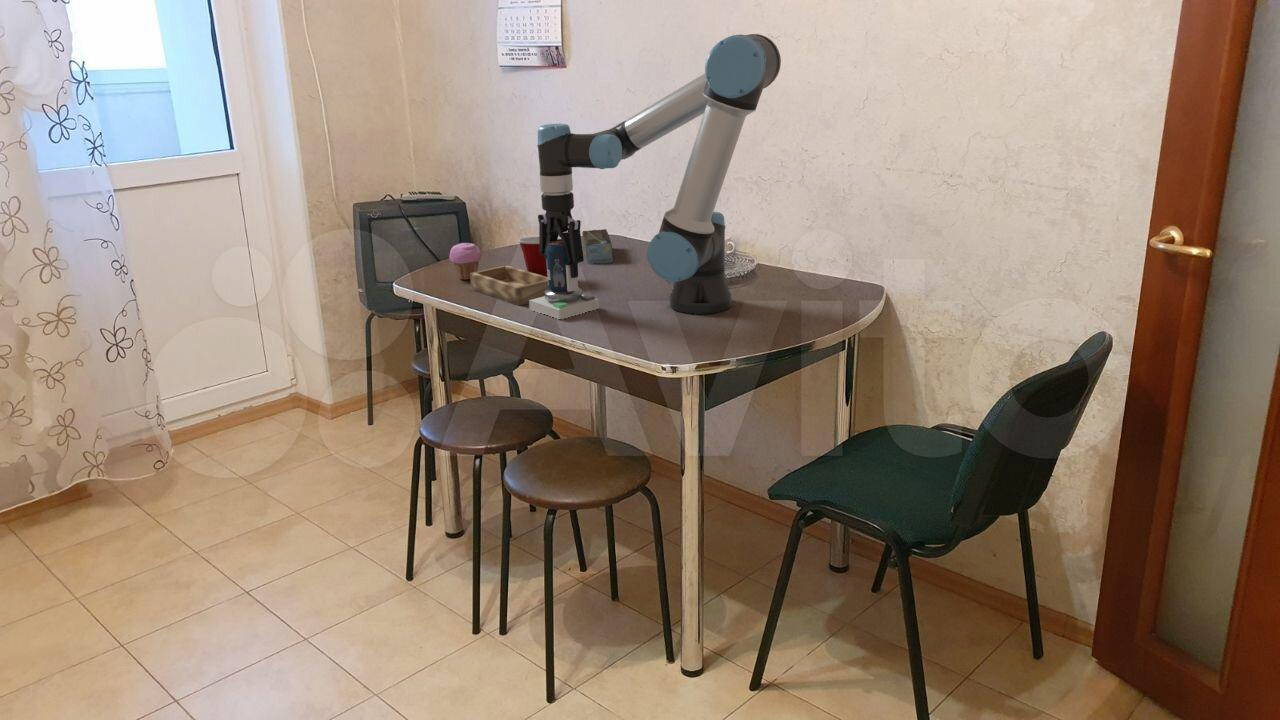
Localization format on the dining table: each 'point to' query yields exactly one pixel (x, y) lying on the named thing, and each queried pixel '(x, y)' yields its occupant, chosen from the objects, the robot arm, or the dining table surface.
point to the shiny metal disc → (563, 295)
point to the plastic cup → (533, 256)
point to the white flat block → (564, 306)
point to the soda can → (557, 267)
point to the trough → (509, 284)
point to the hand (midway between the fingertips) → (563, 287)
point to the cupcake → (465, 259)
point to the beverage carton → (597, 246)
